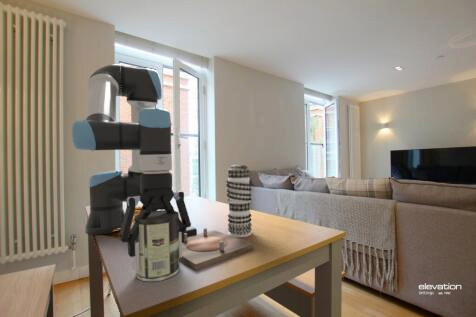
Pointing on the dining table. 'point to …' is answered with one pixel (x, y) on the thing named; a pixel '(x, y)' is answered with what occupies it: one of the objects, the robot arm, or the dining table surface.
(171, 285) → the dining table surface
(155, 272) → the coffee can
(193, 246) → the pin board
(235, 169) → the decorative candle
